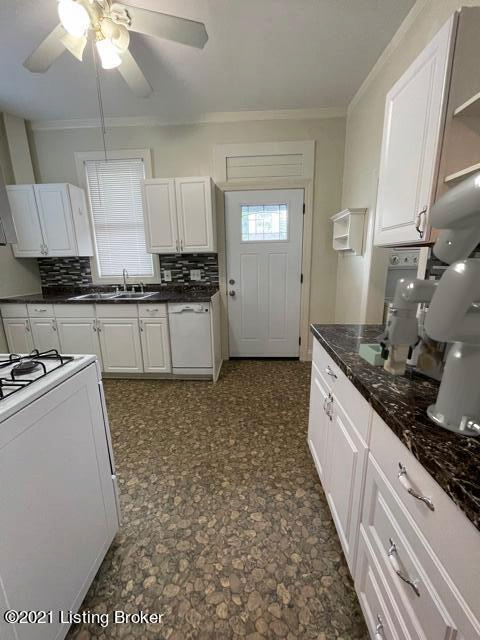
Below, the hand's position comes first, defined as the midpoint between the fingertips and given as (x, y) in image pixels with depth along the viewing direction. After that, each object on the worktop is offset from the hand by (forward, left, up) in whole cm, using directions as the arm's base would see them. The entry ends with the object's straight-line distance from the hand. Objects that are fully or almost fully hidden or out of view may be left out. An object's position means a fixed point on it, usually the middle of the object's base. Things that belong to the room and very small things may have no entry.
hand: (395, 358), depth 99 cm
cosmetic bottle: (+8, -13, -5) cm, 16 cm away
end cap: (+11, 0, -5) cm, 12 cm away
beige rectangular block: (0, 0, -5) cm, 5 cm away
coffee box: (-3, -13, -6) cm, 14 cm away
